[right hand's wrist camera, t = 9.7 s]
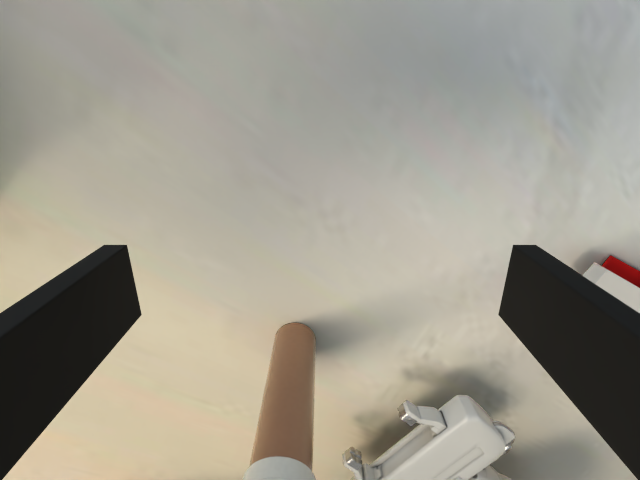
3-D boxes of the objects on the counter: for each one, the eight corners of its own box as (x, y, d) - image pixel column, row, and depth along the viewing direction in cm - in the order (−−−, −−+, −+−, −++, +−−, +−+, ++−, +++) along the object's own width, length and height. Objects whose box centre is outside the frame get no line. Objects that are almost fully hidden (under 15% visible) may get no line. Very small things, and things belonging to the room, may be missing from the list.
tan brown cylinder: (267, 332, 44) (229, 493, 26) (303, 316, 43) (290, 470, 25) (287, 362, 45) (265, 533, 27) (322, 347, 45) (323, 513, 26)
